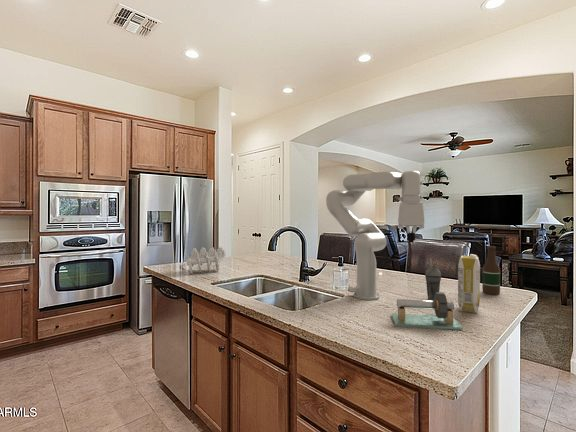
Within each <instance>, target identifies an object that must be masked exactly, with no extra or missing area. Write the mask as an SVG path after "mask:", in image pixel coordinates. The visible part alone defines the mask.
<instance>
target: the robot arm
mask: <svg viewBox="0 0 576 432" xmlns="http://www.w3.org/2000/svg"><path fill="white" fill-rule="evenodd" d="M342 186H343V187H344V189H335V190H330V192H328V194H327V195H326V198H325V202H326V208H327V210H328V211H329V213H330V214H331V216H332V217H333V218H335V220H336V221H337V222H338V223H339V225H340V226H341V227H342V229H343V230H344V231H345V232H346V234H348V235H349V236H350V237H355V239H354V249H355V255H356V285H355V286H354V287H347V292H350V293H353V297H354V298H355V299H360V300H365V301H367V300H368V301H373V300H377V299H380V296H381V295H380V293H378V292H377V259H376V255H375V253H374V252H378V251H382V250H384V249H385V248H386V247H387V242H388V241H387V238H386V236H385V234H384V233H383V232H382V231H381V230H380V229H379V227H377V225H376V224H375V223H374V222H373V221H372V220H370V219H369V218H367V217H356V216H355V214H353V213H352V211H351V210H350V209H349V208H347V207H348V206H349V207H350V206H352V205H355V204H356V203H357V201H359V199H361V197H362V196H363V195H364V194H365V193H366V191H367V192H368V191H369V192H371V191H373V190H380V189H381V190H384V189H385V190H401V196H399V197H398V198H397V200H398V201H400V202H401V203H400V204H399V209H398V219H397V222H398V225H397V229H400V230H404V232H406V241H408V243H414V241H416V233H417V232H418V231H419V230H423V229H424V228H425V212H424V211H425V209H424V205H423V202H421V172H419V171H418V170H409V171H408V170H407V171H404V172H396V171H395V172H394V171H379V172H378V171H377V172H367V173H356V174H355V173H353V174H349V175H347V176H345V177H344V179H343V180H342ZM346 206H347V207H346ZM411 227H412V229H411Z"/></svg>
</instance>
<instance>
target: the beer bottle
mask: <svg viewBox="0 0 576 432" xmlns="http://www.w3.org/2000/svg"><path fill="white" fill-rule="evenodd" d="M496 249H497V248H496V246H494V245H489V246H487V255H486V256H487V257H486V258H487V259H486V262H485V263H484V264H483V266H482V293H484V294H486V295H491V296H492V295H494V296H496V295H497V296H498V295H500V293H501V268H500V265H499V264H498V262H497V257H496V255H497V254H496Z"/></svg>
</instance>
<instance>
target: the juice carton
mask: <svg viewBox="0 0 576 432" xmlns="http://www.w3.org/2000/svg"><path fill="white" fill-rule="evenodd" d="M480 263H481V262H480V260H479V256H478V255H477V254H473V253H469V255H461V256H460V258H459V260H458V264H457V265H458V267H457V268H458V269H457V301H458V302H457V304H458V308H459V311H460V312H466V313H473V314H477V313H478V311H479V308H480V300H481V299H480V298H481V297H480V296H481V295H480V293H481V264H480Z"/></svg>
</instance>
